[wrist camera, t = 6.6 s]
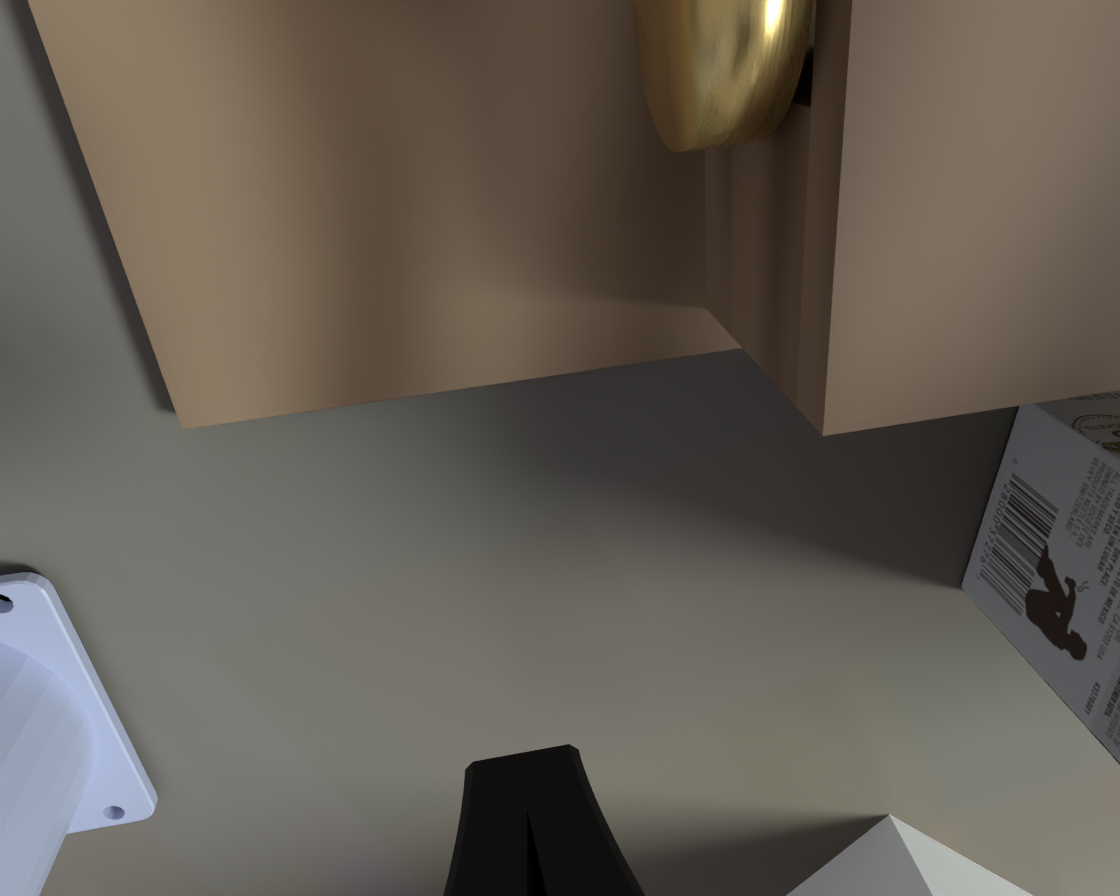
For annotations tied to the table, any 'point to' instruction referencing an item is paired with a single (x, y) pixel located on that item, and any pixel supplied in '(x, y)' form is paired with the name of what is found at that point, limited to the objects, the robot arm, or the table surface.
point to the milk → (902, 868)
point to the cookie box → (1059, 553)
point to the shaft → (721, 66)
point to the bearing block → (601, 202)
